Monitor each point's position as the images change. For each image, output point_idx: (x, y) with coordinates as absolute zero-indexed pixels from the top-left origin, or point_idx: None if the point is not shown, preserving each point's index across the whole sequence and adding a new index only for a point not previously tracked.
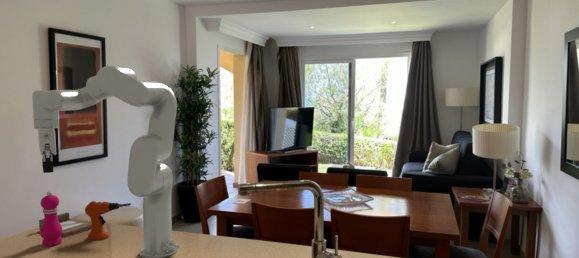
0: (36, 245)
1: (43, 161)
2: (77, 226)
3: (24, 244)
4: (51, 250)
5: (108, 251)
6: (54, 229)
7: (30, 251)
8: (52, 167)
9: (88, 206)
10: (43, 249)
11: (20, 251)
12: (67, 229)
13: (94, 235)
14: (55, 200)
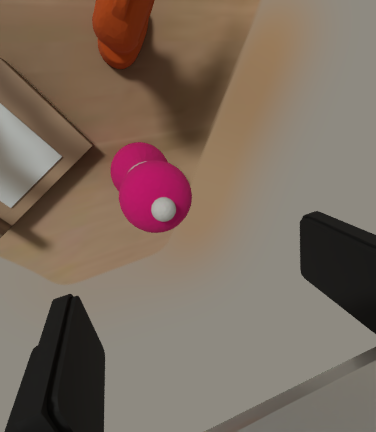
0: None
1: (100, 423)
2: (19, 111)
3: (122, 230)
4: (188, 157)
5: (252, 4)
6: (166, 161)
7: None
8: (347, 231)
9: (137, 26)
10: None
11: None
12: (51, 141)
13: (139, 43)
14: (179, 172)
